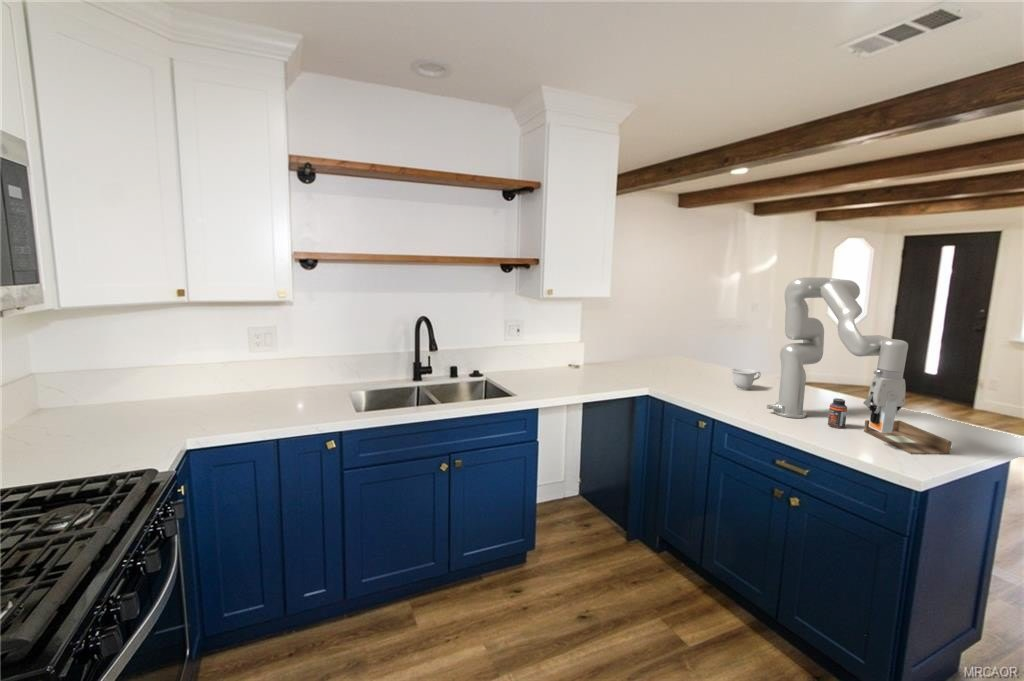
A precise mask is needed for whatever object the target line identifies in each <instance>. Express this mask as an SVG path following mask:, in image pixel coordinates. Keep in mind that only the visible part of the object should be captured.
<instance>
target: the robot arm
mask: <svg viewBox="0 0 1024 681" xmlns="http://www.w3.org/2000/svg"><path fill="white" fill-rule="evenodd" d="M860 294H861V288H860V286H859V285H858V283H857V282H855V281H853V280H850V279H840V278H835V277H834V278H832V277H809V276H808V277H798V278H796V279H793V280H791V281H790V282H789V283H788V284H787V286H786V287H785V290H784V302H785V303H784V304H785V315H784V316H785V317H784V333H785V336H786V338H787V339H789V340H792V341H802V342H794V343H793V342H792V343H789V344H786V345H784V346H783V347H781V350H780V352H779V358H780V380H779V381H780V382H779V391H778V392H779V393H778V401H775V403H774V404H767V405H766V409H767V410H772V411H773V413H774V414H775V415H778V416H781V417H784V418H791V419H792V418H793V419H802V418H806V417H807V412H805V411H804V401H805V393H806V392H805V390H806V381H807V374H806V370H805V367H804V365H815V364H817V363H819V362H820V361H821V360H822V358H823V355H824V345H825V328H824V325H823V323H822V321H821V320H820V319H818V318H816V317H809V312H810V309H809V305H808V303H807V301H806V300H805V299H808V298H810V299H817V298H818V299H819V298H820V299H823V300H824V301H825V303H826V304H827V306H828V308H829V309H830V310H831V311H832V313H833V315H834V316H835V317H836V319H837V320H838V322H837V335H838V337H839V339H840V341H841V342H842V344H843V345H844V347H845V348H846V349H847V351H848V352H849V353H850V354H852V355H854V356H856V357H860V358H861V357H875V356H877V357H878V362H877V367H876V370H874V371H873V375H875V376H873V378H872V381H871V383H870V388H869V390H868V396H867V398H866V399H865V400H864V401H863V402H862V403H863V404H864V405H865V406H866V407H867V408H868V410H869V411H870V416H871V417H870V416H869V420H870V421H871V422H873V423H875V424H878V422H879V416H880V414H879V413H878V412H879V410H880V407H881V406H885V405H886V401H897V407H896V413H895V415H897V414H898V411H900V410H901V409H902V408H903V407H905V406H906V405H907V404H906V401H905V400H906V380H905V378H904V372H905V366H906V360H907V356H908V355H907V354H908V350H909V343H908V342H907V341H905V340H902V339H897V338H896V339H894V338H890V337H887V336H884V335H878V334H877V335H876V334H873V335H862V333H861V332H860V330H859V328H858V327H857V326H856V323H855V320H856V319H857V318H858V317H860V316H861V314H862V313H863V308H862V307H861V305H860V304H859V303H858V301H857V299H858V298H859V297H860ZM875 407H876V408H875Z"/></svg>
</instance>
